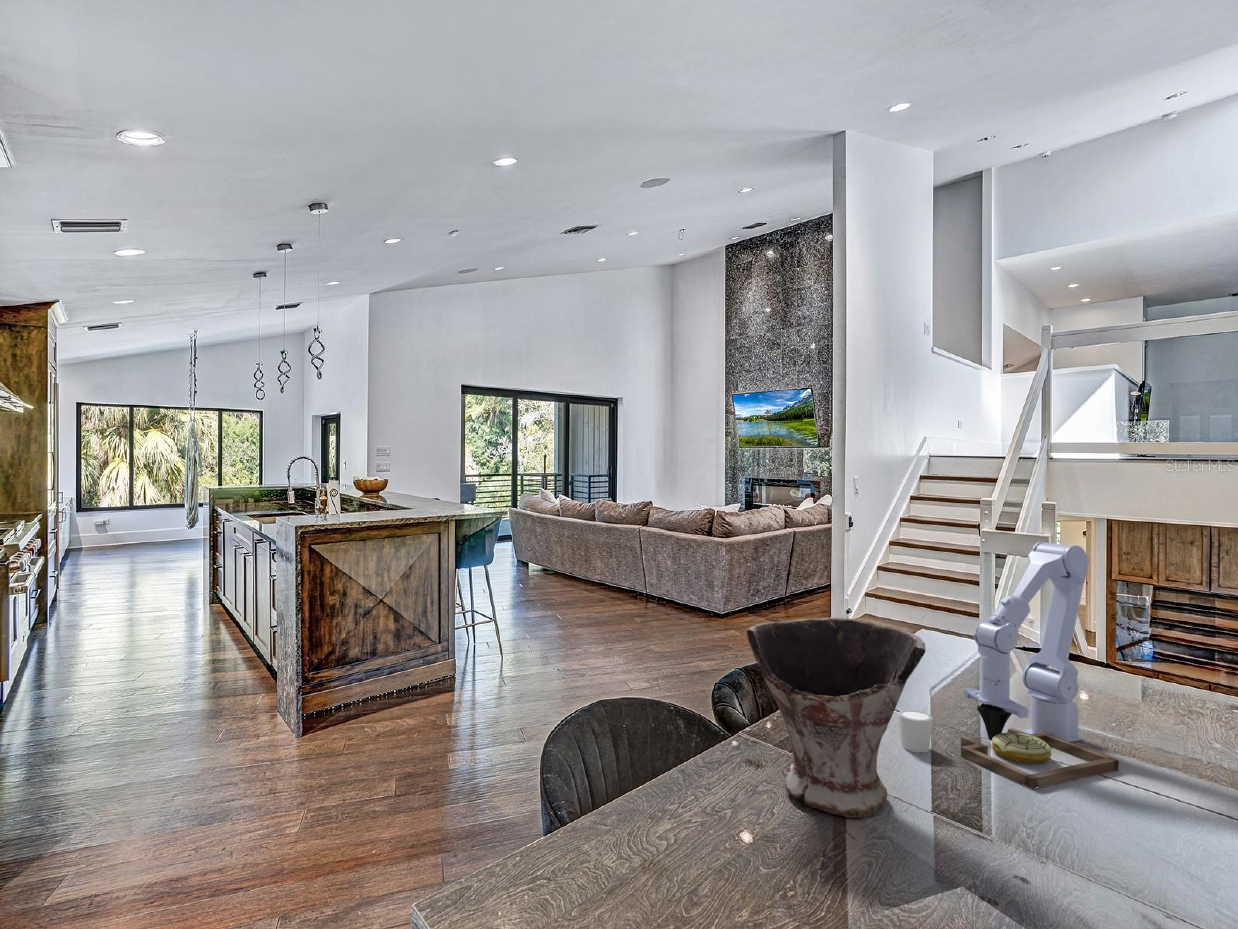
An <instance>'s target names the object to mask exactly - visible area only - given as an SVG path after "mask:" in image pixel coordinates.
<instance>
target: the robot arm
mask: <svg viewBox="0 0 1238 929" xmlns="http://www.w3.org/2000/svg"><path fill="white" fill-rule="evenodd" d="M1027 557H1028V563H1029V565H1028V567H1027V568H1026V570H1025V572H1024V574H1023V576H1022V577H1021V579H1020V581H1019V583H1018V585H1017V586H1016V588H1015V590H1014V592H1013V594H1010V595H1005V596H1004V597H1003V598H1002V599H1001V600H1000V602H999V604H998V606H997V607H996V608H995V610H994V611H993V613H992V614H991V616H990V617H989V619H988V621H984V622H981V623H980V624H979V625H978V626H976V628H975V629H976V630H975V633H974V634H973V639H974V641H975V644H976V645H977V652H978V654H979V656H980V658H979V659H980V660H979V662H980V663H979V667H980V668H979V689H975V688H971V687H969V688H968V687H967V688H963V698H965V699H972V700H974V701H976V702H978V703H981V704H980V705H977V707H976V708H977V711H978V713H979V715H980V717H981V719H982V721H983V724H984V726H985V730H986V733H987V738H988V740H989V741H991V742H992V738H993V737H994V736H996V735H998V734H1001V733H1003V730H1004V727H1005V725H1006V723H1007V722H1008V720H1009V718H1010V717H1011V716H1012V715H1015V716H1017V718H1021V719H1025V718H1029V707H1025V706H1023V705H1021V704H1020V703H1018V702H1016V701H1014V700H1012V699H1010V691H1011V690H1010V683H1011V682H1010V676H1011V674H1010V672H1011V671H1010V670H1011V668H1010V666H1011V658H1010V657H1011V652H1012V651H1013V650H1014V649H1015V648H1016V646H1017V643H1018V635H1019V632H1020V630H1019V629H1020V628H1021V626H1022V624H1023V623H1024V621H1025V620H1026V618H1027V617H1028V615H1030V612H1031V607H1030V604H1029V603H1030V602H1031V601H1032V599H1033V598H1034V597H1035V596H1036V594H1037V593H1038V592H1039V591H1040V589H1041V588H1042V587H1043V586H1044V585H1045V584H1046V582H1047V581H1049V580H1050V582H1052V584H1053V586H1054V587H1053V591H1052V592H1053V593H1052V598H1051V601H1050V607H1049V610H1048V611H1049V612H1048V617H1047V621H1046V625H1045V630H1044V634H1043V639H1042V643H1041V649H1040V651H1039V652H1037V653H1036V654H1034V655H1031V656H1030V657H1029V659H1028V663H1027V665H1026V666H1025V668H1024V670H1023V673H1022V683H1023V686H1024V687H1025V688H1026V689H1027V690H1028V694H1029V695H1030V699H1031V700H1030V728H1028V729H1023V730H1021V732H1024V733H1027V734H1034V733H1040V732H1045V733H1047V734H1050V735H1053V736H1055V737H1058V738H1061V739H1063V740H1066V741H1069V742H1071V743H1073V742H1076V741H1078V742H1079V741H1082V740H1083V737H1081V736H1079V719H1080V718H1079V717H1080V716H1079V708H1078V705H1077V704H1076V702H1075V701H1074V699H1075V698H1076V696H1077V695H1078V692H1079V683H1078V675H1079V670H1078V668H1077V667H1076V666H1074V664H1073V663H1072V662H1071V661H1070V659H1069V656H1070V651H1071V646H1072V643H1073V642H1072V641H1073V638H1074V632H1075V628H1076V623H1077V618H1078V612H1079V609H1080V605H1081V598H1082V594H1083V589H1084V584H1085V582H1086V578H1087V577H1086V576H1087V572H1088V569H1089V564H1090V558H1089V556H1088V555H1087V552H1086V551H1085V550H1084V548H1083V547H1082V546H1080V545H1074V544H1073V545H1068V544H1061V543H1051V542H1046V541H1038V542H1036V543H1035V544H1034V545H1033V547H1032V549H1031V551H1030V552H1029V553H1028V556H1027ZM1049 667H1052V668H1049ZM1053 668H1055V669H1053Z"/></svg>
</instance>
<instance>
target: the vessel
mask: <svg viewBox="0 0 1238 929" xmlns="http://www.w3.org/2000/svg"><path fill="white" fill-rule="evenodd" d="M746 637H747V640H748V641H747V642H748V643H749V646H750V649H751V652H752V653H753V658H754V660H755V662H756V663H757V664H758V666H759V668H760V670H761V674H762V676H763V678H764V681H765V682H766V685H767V687H768V689H769V691H770V693H771V695H772V697H773V699H774V701H775V703H776V705H777V708H778V710H779V712H780V715H781V717H782V720H783V722H784V725H785V729H786V731H787V735H788V737H789V741H790V744H791V749H792V755H793V767H792V768H791V770H790V771H789V772H788V773H787V774H786V778H785V784H784V785H785V790H786V791H787V793H789V794H790V795H791V796H792V797H793V798H795V799H797V800H800V799H801V800H802V801H803V803H804V804H805V805H806V806H808V807H811V808H814V809H816V810H817V809H818V810H821V811H824V812H826V813H830V814H833V815H836V816H837V815H838V816H842V817H845V818H850V819H851V818H852V819H858V818H867V817H871V816H875V815H877V811H878V809H879V808H881V807H882V806H883V805H884V804H885V803H886V801H887V798H888V790H887V787H886V786H885V784H884V783H883V782H882V780H881V778H880V776H879V774H878V771H877V770H878V769H877V768H878V767H877V766H878V754H879V748H880V745H881V741H882V739H883V736H884V734H885V733H886V732H887V729H888V726H889V723H890V721H891V720H892V717H893V714H894V712H895V710H896V708H897V706H898V703H899V701H900V698H901V697H902V696H901V695H902V693H903V692H904V688H905V686H906V684H907V681H908V679H909V678H910V677H911V676H912V674H913V673H914V671H915V670H916V668H917V667H918V666H919V663H920V662H921V660H922V659H923V657H924V655H925V653H926V643H925V642H924V641H923V640H922V638H920V637H919V636H918V635H916V634H914V633H911V632H909V631H908V630H905V629H903V628H901V627H897V626H895V625H890V624H889V625H888V624H882V623H881V624H880V623H876V622H873V621H869V620H865V619H860V618H848V617H818V618H815V617H814V618H802V619H801V618H800V619H793V620H779V621H770V622H762V623H757V624H755V625H753V626H750V627H748V628H747V630H746Z"/></svg>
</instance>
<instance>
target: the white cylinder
mask: <svg viewBox="0 0 1238 929" xmlns="http://www.w3.org/2000/svg"><path fill="white" fill-rule="evenodd" d="M933 719H934V718H933V716H932V715H930V714H928V713H926V712H922V711H919V710H911V709H910V710H909V709H905V710H900V711H899V712H898V721H899V724H898V725H899V732H900V735H899V736H900V745H901V747H902V746H903V747H902V748H903V749H904V748H905V749H904V750H906V749H907V750H906V751H908V750H910V751H909V752H912V753H917V752H918V753H919V752H925V753H928V752H930V746H931V736H932V729H933V728H932V727H933ZM913 751H914V752H913ZM927 751H928V752H927ZM919 754H920V753H919Z"/></svg>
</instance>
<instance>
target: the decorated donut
mask: <svg viewBox="0 0 1238 929" xmlns="http://www.w3.org/2000/svg"><path fill="white" fill-rule="evenodd" d="M991 743H992V744H991V746H992V750H993V752H994V753H995V755H998V756H1000V757H1001V758H1005V759H1008V760H1010V761H1012V762H1018V761H1019V762H1018V763H1021V764H1025V763H1027V764H1032V765H1034V764H1035V765H1037V764H1043V763H1046V762H1047V761H1049V759H1050V758H1051V756H1052V747H1051V746H1049V745H1048V744H1047V743H1046V742H1045V741H1043V740H1041V739H1039V738H1037V737H1035V736H1032V735H1028V734H1023V733H1011V732H1008V731H1007V732H1002V733H1001V734H998V735H996V736H994V737H993V738H992V741H991Z"/></svg>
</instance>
